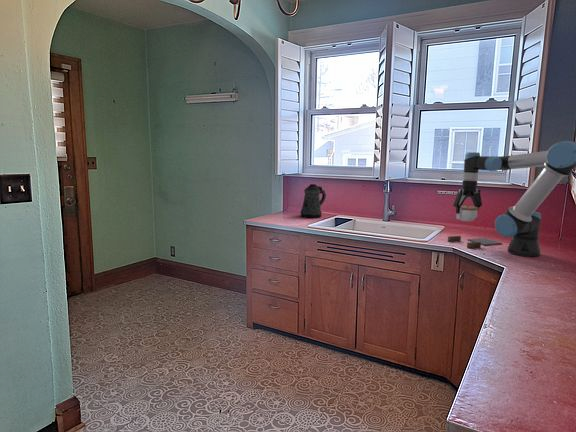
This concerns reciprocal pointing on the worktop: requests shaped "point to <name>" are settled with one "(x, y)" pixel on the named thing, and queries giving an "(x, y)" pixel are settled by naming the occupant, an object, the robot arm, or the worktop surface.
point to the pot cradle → (469, 245)
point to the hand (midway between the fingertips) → (466, 218)
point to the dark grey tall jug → (312, 202)
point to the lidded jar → (468, 213)
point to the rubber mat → (485, 241)
